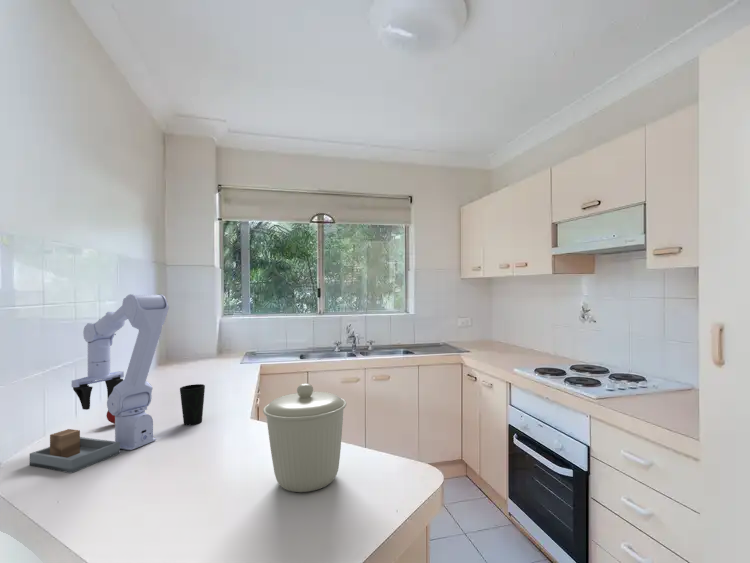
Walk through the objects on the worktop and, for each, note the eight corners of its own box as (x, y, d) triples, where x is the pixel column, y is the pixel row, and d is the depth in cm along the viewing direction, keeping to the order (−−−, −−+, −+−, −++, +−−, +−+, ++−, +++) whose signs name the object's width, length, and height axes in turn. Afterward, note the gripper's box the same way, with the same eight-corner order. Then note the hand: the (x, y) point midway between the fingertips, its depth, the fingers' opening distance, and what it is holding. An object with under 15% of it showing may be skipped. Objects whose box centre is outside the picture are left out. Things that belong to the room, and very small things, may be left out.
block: (79, 453, 101) (79, 430, 102) (61, 459, 97) (61, 436, 97) (68, 451, 103) (68, 429, 103) (49, 458, 99) (50, 434, 99)
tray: (119, 453, 102) (119, 442, 102) (71, 473, 91) (71, 460, 91) (79, 447, 108) (80, 436, 108) (29, 465, 96) (29, 453, 96)
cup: (198, 426, 123) (198, 389, 124) (175, 426, 123) (175, 389, 124) (209, 418, 131) (208, 383, 131) (187, 419, 131) (187, 384, 131)
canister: (249, 482, 83) (247, 385, 84) (317, 456, 95) (314, 372, 96) (294, 514, 70) (291, 398, 71) (365, 479, 82) (362, 381, 84)
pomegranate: (110, 428, 124) (110, 403, 124) (103, 425, 127) (103, 401, 128) (130, 423, 128) (130, 399, 129) (123, 420, 132) (123, 397, 132)
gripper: (113, 357, 126) (113, 398, 125) (64, 365, 112) (64, 411, 111) (128, 358, 123) (128, 400, 123) (80, 365, 110) (80, 413, 109)
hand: (99, 405), depth 117 cm, fingers open, 7 cm apart
